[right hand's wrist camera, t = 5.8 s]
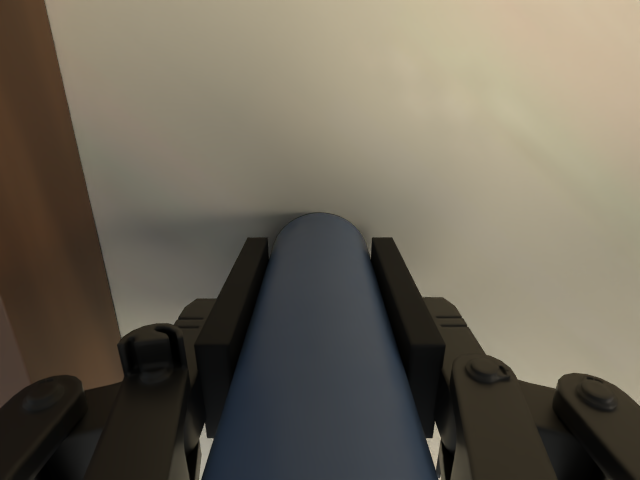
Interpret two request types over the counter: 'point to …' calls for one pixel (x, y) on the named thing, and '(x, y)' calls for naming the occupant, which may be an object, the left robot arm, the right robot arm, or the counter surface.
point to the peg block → (46, 223)
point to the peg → (319, 371)
